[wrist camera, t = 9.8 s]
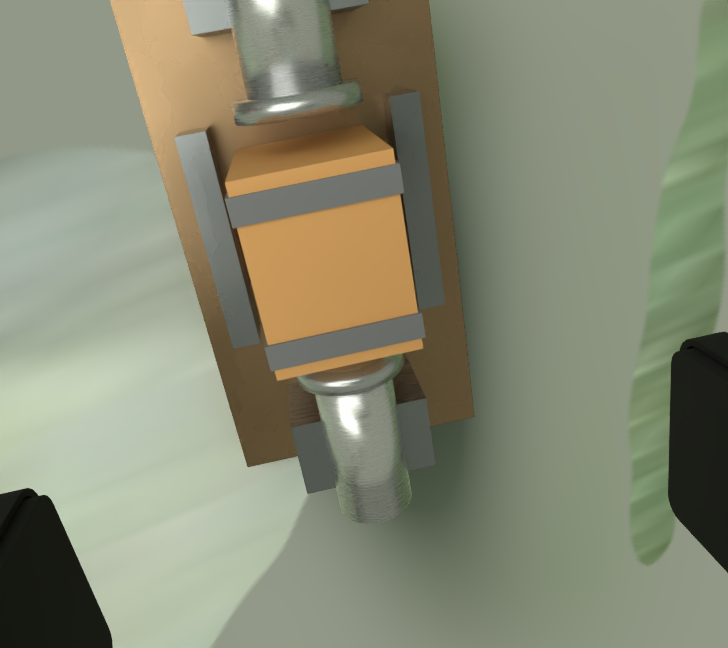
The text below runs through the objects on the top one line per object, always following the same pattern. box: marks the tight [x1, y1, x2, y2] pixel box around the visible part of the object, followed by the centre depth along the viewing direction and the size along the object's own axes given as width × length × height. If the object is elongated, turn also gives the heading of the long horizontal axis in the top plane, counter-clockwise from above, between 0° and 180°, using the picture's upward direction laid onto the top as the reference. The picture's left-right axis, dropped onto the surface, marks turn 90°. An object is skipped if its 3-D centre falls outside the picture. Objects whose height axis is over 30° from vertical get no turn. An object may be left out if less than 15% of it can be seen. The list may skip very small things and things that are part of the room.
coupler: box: [225, 125, 426, 381], centre depth 21 cm, size 6×5×6 cm
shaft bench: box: [110, 0, 474, 524], centre depth 21 cm, size 21×10×6 cm, turn 9°
